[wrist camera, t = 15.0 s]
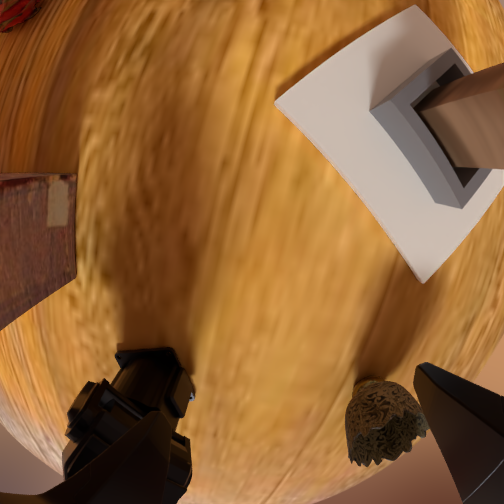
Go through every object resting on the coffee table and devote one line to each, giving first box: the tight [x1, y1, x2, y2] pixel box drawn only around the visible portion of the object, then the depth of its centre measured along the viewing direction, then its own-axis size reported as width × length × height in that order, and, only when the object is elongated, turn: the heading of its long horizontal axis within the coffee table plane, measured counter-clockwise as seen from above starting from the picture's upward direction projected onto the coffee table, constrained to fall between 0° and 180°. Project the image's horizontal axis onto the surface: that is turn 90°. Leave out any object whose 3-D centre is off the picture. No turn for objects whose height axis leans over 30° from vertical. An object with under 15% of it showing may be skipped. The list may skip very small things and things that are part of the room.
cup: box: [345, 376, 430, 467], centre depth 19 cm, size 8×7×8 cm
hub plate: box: [274, 5, 504, 284], centre depth 15 cm, size 18×18×4 cm
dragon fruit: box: [0, 0, 42, 33], centre depth 9 cm, size 8×8×12 cm
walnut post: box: [413, 63, 504, 170], centre depth 10 cm, size 5×5×13 cm
